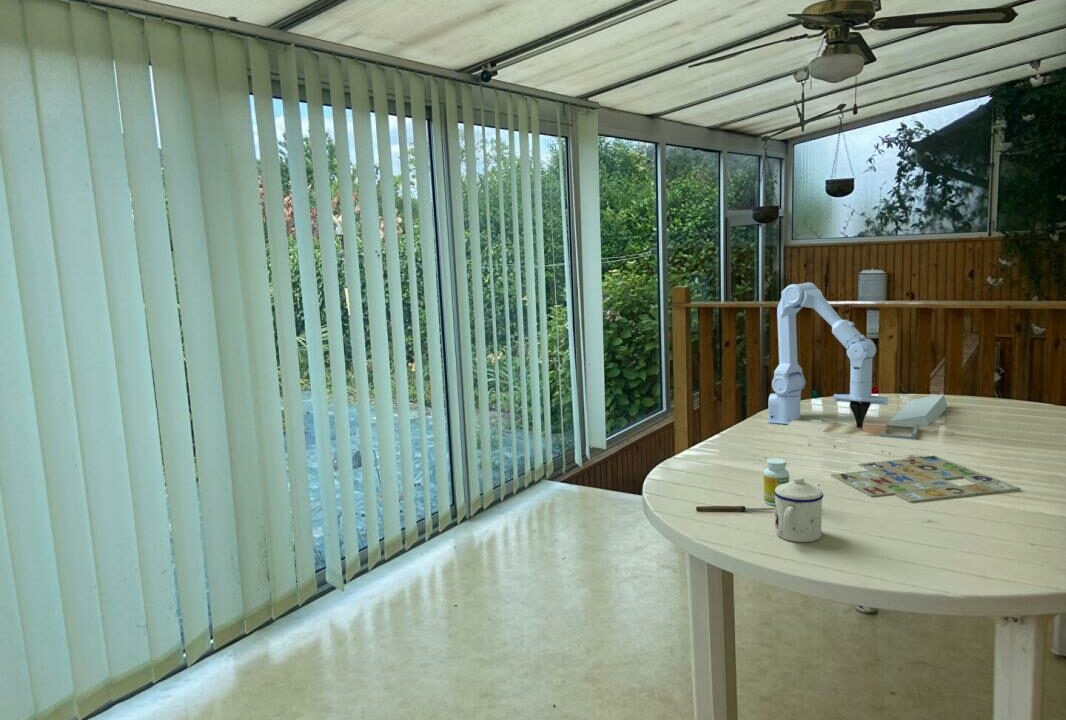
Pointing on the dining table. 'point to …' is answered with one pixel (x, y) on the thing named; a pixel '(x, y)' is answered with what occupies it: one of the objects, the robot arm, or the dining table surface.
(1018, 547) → the dining table surface
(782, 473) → the supplement bottle
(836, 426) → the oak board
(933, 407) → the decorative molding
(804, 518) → the teacup with lid
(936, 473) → the alphabet tiles
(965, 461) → the dining table surface
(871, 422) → the tile
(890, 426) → the tray
